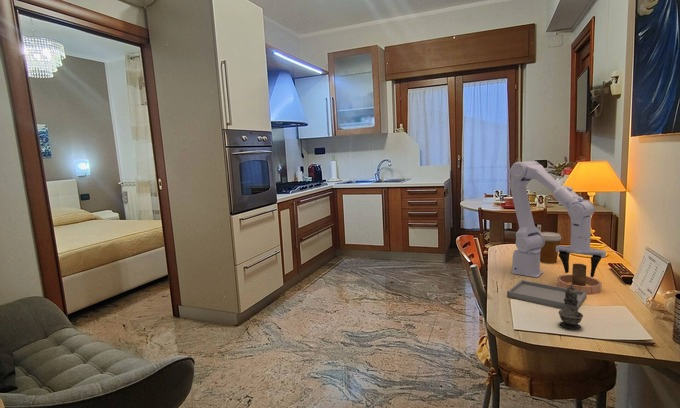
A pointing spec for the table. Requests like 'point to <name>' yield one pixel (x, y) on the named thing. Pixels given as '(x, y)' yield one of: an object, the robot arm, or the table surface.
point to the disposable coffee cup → (549, 247)
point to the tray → (542, 294)
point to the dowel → (579, 275)
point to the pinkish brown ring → (592, 289)
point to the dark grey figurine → (570, 311)
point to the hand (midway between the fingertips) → (579, 274)
